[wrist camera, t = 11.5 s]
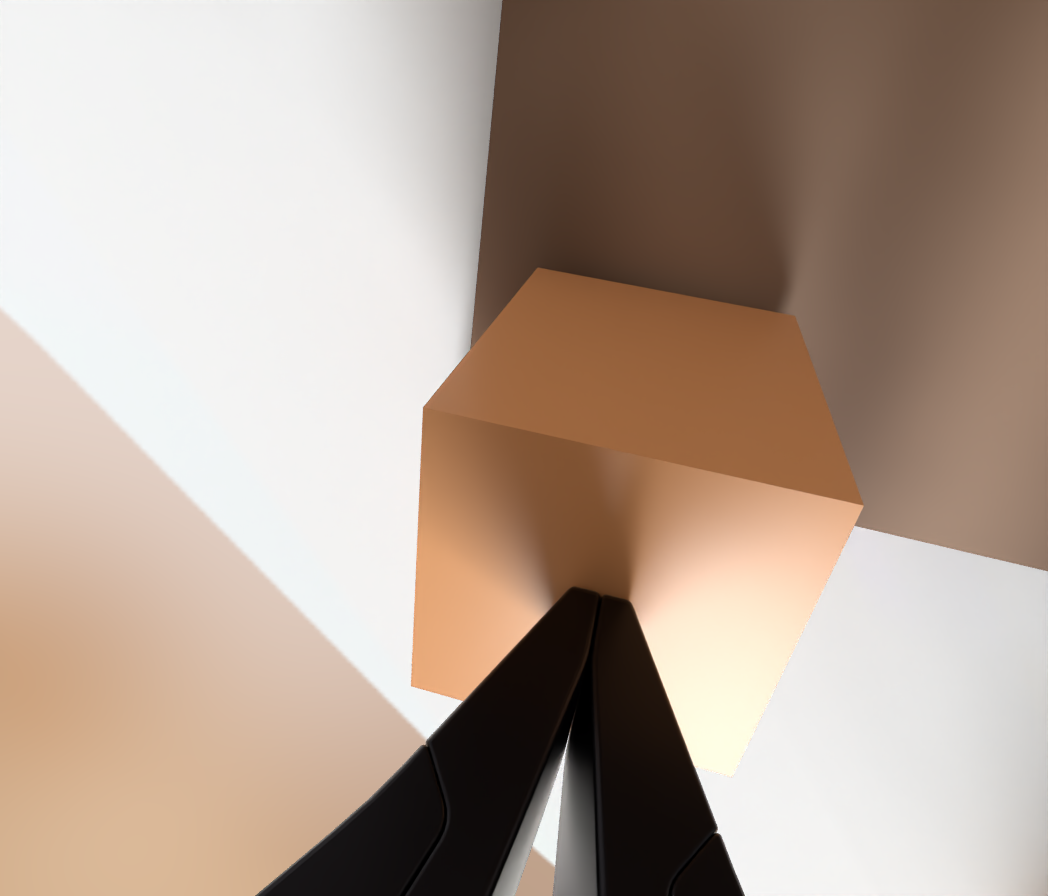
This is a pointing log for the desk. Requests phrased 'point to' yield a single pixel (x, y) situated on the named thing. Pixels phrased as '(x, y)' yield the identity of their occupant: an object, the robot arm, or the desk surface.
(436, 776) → the robot arm
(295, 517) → the desk surface
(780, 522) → the peach wooden cube
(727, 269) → the walnut board
